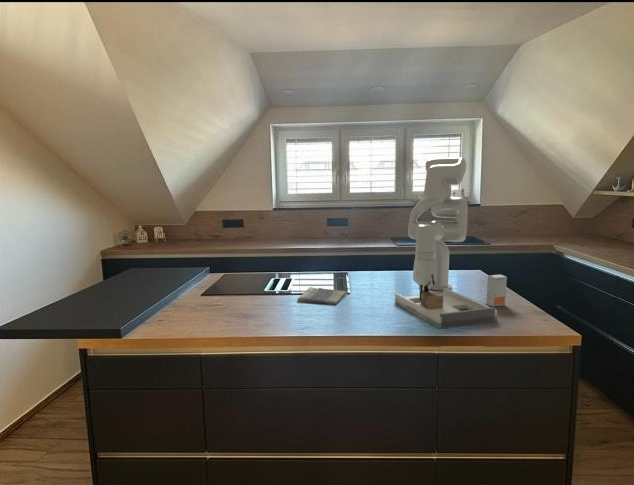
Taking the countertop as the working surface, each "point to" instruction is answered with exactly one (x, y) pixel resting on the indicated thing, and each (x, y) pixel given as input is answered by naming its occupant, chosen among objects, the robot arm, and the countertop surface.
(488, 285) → the skincare box
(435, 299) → the block
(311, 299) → the dish towel
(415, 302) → the box
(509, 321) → the countertop surface
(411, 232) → the robot arm
